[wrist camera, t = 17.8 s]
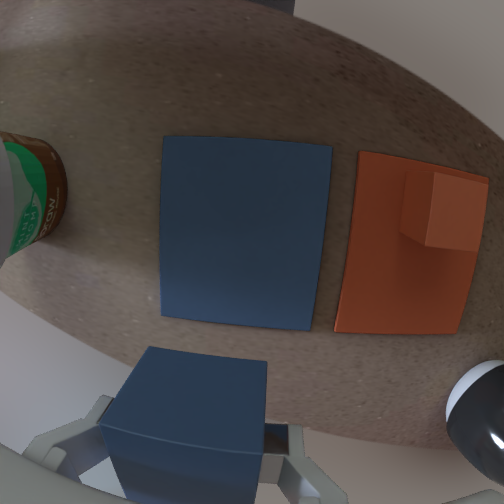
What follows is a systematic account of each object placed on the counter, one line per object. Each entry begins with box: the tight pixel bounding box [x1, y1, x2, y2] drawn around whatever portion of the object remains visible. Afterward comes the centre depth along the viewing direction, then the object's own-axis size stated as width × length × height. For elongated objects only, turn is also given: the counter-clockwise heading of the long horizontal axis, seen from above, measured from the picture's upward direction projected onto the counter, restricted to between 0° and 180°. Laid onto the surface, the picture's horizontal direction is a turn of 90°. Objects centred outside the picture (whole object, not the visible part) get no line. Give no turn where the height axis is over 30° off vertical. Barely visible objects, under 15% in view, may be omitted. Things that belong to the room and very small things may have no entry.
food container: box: [0, 131, 67, 268], centre depth 19 cm, size 12×6×10 cm, turn 157°
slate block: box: [99, 346, 267, 504], centre depth 10 cm, size 5×5×5 cm
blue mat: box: [160, 136, 333, 331], centre depth 23 cm, size 14×12×1 cm
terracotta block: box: [399, 170, 488, 252], centre depth 19 cm, size 5×5×5 cm
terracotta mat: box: [334, 151, 489, 334], centre depth 23 cm, size 14×12×1 cm
